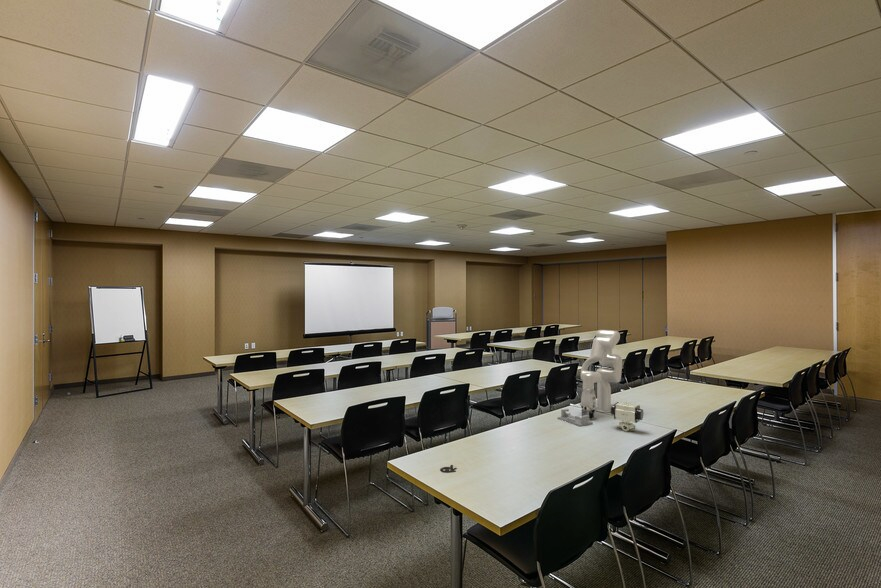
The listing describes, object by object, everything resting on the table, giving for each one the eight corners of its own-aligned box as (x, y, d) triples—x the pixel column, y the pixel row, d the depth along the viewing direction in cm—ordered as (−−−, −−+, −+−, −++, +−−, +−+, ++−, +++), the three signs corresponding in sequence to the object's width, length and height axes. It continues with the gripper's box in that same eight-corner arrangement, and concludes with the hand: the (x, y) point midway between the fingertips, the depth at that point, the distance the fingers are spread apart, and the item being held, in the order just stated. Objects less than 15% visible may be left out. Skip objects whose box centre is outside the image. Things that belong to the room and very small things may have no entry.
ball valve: (609, 428, 271) (610, 401, 271) (614, 425, 278) (614, 398, 278) (639, 434, 260) (640, 405, 260) (643, 431, 266) (643, 403, 266)
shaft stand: (557, 418, 292) (557, 410, 292) (570, 416, 298) (570, 407, 298) (580, 426, 275) (580, 417, 275) (592, 424, 281) (592, 415, 281)
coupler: (589, 416, 297) (589, 408, 297) (595, 418, 293) (595, 409, 293) (581, 418, 293) (581, 409, 293) (587, 420, 289) (587, 411, 289)
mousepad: (449, 465, 212) (449, 463, 212) (461, 469, 207) (461, 468, 207) (437, 471, 205) (437, 469, 205) (450, 475, 200) (450, 474, 200)
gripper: (602, 393, 288) (602, 419, 288) (582, 388, 302) (582, 413, 302) (594, 394, 284) (594, 421, 284) (575, 389, 299) (575, 414, 299)
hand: (588, 416), depth 293 cm, fingers closed on coupler, 5 cm apart
